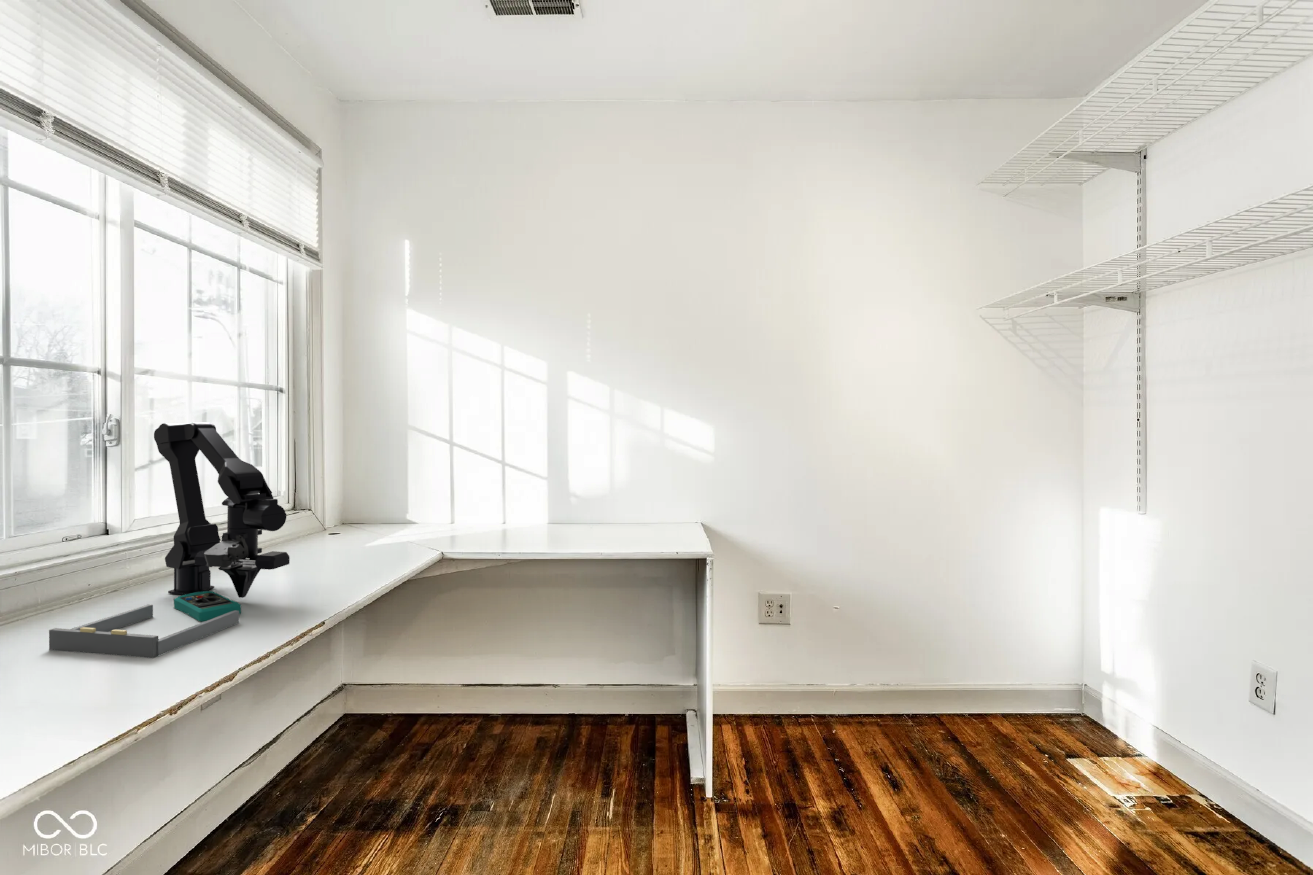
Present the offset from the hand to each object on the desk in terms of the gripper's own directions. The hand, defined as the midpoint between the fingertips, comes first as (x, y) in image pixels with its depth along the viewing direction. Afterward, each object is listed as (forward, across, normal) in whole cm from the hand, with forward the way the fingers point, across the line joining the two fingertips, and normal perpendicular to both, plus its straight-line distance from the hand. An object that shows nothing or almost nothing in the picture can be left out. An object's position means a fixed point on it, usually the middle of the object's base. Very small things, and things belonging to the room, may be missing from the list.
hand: (242, 597), depth 146 cm
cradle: (+1, 0, -23) cm, 23 cm away
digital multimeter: (+2, -2, -7) cm, 8 cm away
